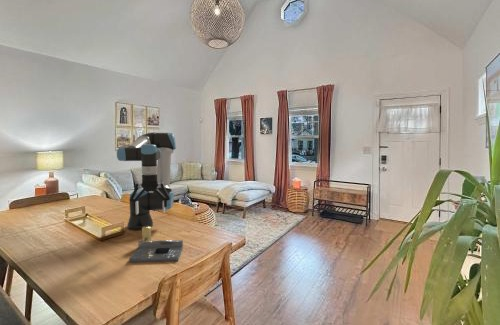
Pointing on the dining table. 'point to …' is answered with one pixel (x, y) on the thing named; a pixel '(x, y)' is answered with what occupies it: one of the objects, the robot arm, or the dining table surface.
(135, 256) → the plate
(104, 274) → the dining table surface
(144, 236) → the cylinder
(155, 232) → the dining table surface
